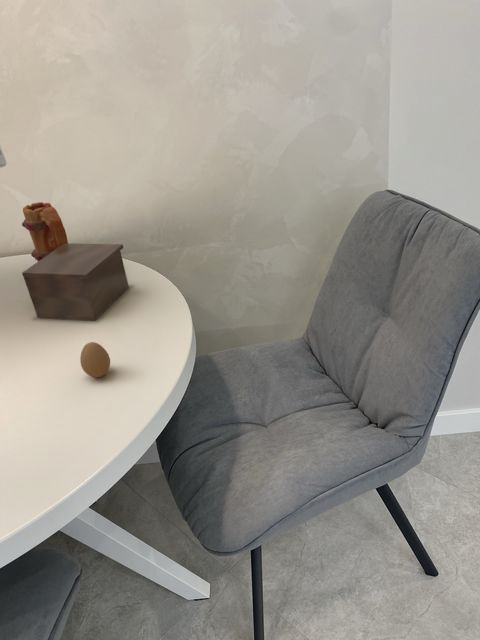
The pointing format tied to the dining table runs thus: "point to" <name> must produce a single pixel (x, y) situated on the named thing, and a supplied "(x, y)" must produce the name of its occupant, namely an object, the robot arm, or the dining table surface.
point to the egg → (94, 360)
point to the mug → (44, 228)
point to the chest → (78, 292)
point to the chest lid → (73, 261)
